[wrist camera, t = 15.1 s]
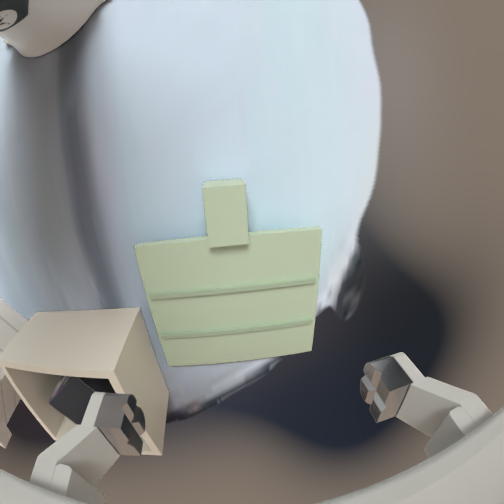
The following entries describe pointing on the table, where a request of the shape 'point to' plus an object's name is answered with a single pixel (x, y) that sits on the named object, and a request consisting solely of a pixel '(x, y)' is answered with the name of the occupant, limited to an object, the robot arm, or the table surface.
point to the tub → (88, 364)
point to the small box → (77, 395)
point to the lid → (232, 285)
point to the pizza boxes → (3, 393)
